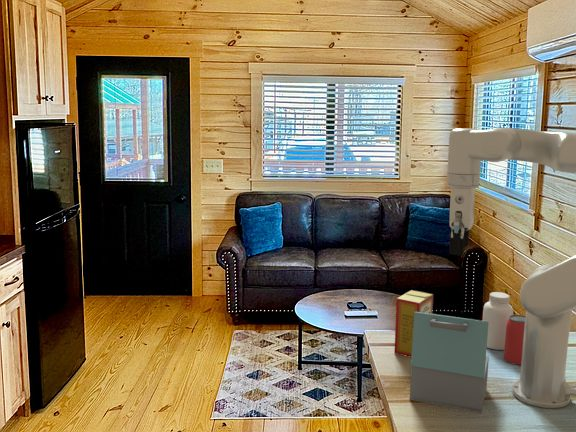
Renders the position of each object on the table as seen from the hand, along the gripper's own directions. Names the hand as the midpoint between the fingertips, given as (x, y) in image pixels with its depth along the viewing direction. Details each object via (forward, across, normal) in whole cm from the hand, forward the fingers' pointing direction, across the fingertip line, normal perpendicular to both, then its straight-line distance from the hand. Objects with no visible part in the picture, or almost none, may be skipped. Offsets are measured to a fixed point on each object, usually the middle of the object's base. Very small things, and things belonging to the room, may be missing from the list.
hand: (458, 250), depth 148 cm
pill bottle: (+32, +24, -9) cm, 41 cm away
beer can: (+32, +15, -15) cm, 39 cm away
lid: (+18, -17, -1) cm, 25 cm away
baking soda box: (+33, +11, +12) cm, 36 cm away
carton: (+32, -12, -1) cm, 34 cm away
